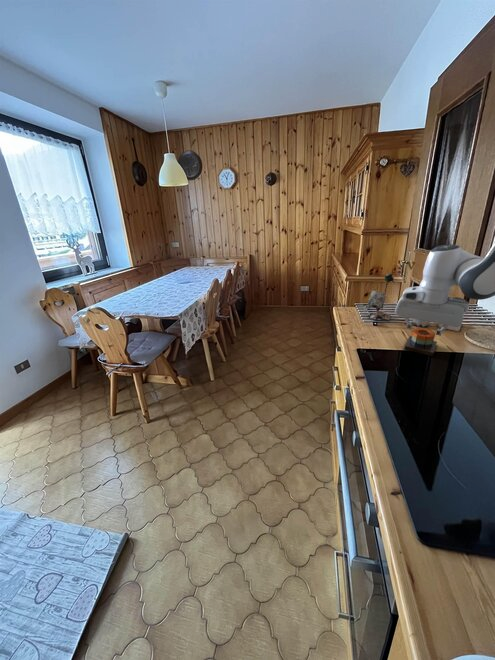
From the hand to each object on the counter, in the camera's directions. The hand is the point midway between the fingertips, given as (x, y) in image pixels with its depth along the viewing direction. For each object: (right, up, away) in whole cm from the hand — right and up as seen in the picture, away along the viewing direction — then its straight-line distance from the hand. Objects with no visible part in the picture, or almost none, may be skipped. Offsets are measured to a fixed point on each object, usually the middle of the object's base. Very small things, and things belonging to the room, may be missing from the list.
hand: (423, 331), depth 101 cm
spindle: (+1, -6, +3) cm, 7 cm away
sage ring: (0, -3, +1) cm, 4 cm away
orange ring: (0, -2, +1) cm, 2 cm away
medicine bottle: (+21, +2, +16) cm, 26 cm away
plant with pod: (-4, +6, +27) cm, 28 cm away
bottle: (+10, +2, +18) cm, 21 cm away
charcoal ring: (+1, -5, +2) cm, 5 cm away
